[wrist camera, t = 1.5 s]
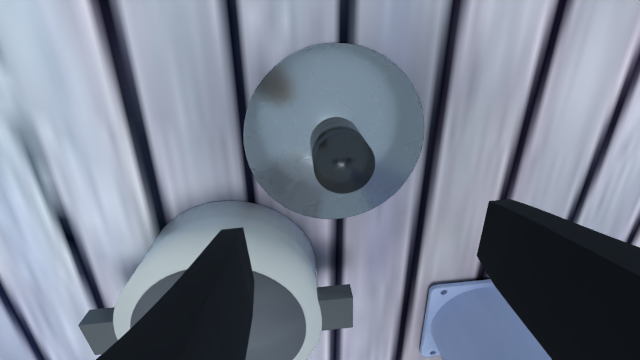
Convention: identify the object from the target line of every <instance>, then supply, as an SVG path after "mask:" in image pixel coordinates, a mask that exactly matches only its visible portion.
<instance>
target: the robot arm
mask: <svg viewBox="0 0 640 360" xmlns="http://www.w3.org/2000/svg"><path fill="white" fill-rule="evenodd" d="M477 256H478V258H479V260H480V262H481V264H482V265H483V267H484V269H485V271H486V273H487V274H488V276H489V277H490V279H488V280H478V281H468V282H458V283H448V284H438V285H433V286H432V287H431V288H430V289H429V294H428V301H427V307H426V314H425V320H424V327H423V333H422V340H421V346H420V353H421V355H422V356H423V357H431V356H439V355H441V357H442V359H443V360H640V248H639V247H637V246H634V245H631V244H628V243H626V242H623V241H620V240H618V239H615V238H612V237H609V236H607V235H604V234H602V233H599V232H596V231H594V230H591V229H589V228H586V227H584V226H581V225H578V224H576V223H573V222H571V221H568V220H566V219H563V218H561V217H558V216H555V215H553V214H550V213H548V212H545V211H543V210H540V209H537V208H534V207H532V206H529V205H526V204H523V203H520V202H517V201H514V200H510V199H506V200H496V201H489V204H488V208H487V213H486V217H485V222H484V226H483V231H482V235H481V240H480V244H479V248H478V253H477ZM254 283H255V281H254V276H253V272H252V267H251V262H250V257H249V253H248V248H247V243H246V238H245V234H244V229H243V227H241V228H232V229H222V230H221V231H220V232H219V233H218V234H217V235H216V236H215V237H214V238H213V240H212V241H211V242H210V243H209V244H208V245H207V247H206V248H205V249H204V250H203V251H202V253H201V254H200V255H199V256H198V257H197V258H196V260H195V261H194V262H193V263H192V264H191V266H190V267H189V268H188V269H187V270H186V271H185V272H184V273H183V275H182V276H181V277H180V278H179V279H178V280H177V281H176V282H175V284H174V285H173V286H172V287H171V288H170V289H169V290H168V291H167V292H166V293H165V294H164V295H163V296H162V297H161V298H160V299H159V300H158V301H157V302H156V304H155V305H154V306H153V307H152V308H151V309H150V310H149V311H148V312H147V313H146V314H145V315H144V316H143V317H142V318H141V319H140V320H139V321H138V322H137V323H136V324H135V325H134V326H133V327H132V328H131V329H129V330H128V331H127V332H126V333H125V334H124V335H123V336H122V337H121V338H120V339H119V340H118V341H116V342H115V343H114V344H113V345H112V346H111V347H110V348H109V349H108V350H106V351H105V352H104V353H103V354H102V355H101V356H100V357H99V358H98V359H96V360H245V359H246V354H247V348H248V342H249V336H250V330H251V324H252V317H253V304H254ZM442 290H443V291H442Z"/></svg>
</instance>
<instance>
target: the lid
mask: <svg viewBox="0 0 640 360" xmlns="http://www.w3.org/2000/svg"><path fill="white" fill-rule="evenodd" d="M243 138H244V148H245V153H246V158H247V161H248V164H249V166H250V169H251V171H252V173H253V175H254V177H255V178H256V180H257V181H258V183H259V184H260V186H261V187H262V188H263V189H264V190H265V191H266V192H267V194H268V195H269V196H271V197H272V198H273V199H274V200H275V201H277V202H278V203H280V204H281V205H283V206H284V207H286V208H288V209H290V210H292V211H294V212H296V213H299V214H302V215H305V216H309V217H314V218H321V219H338V218H346V217H351V216H355V215H358V214H361V213H364V212H367V211H369V210H371V209H373V208H375V207H377V206H378V205H380V204H382V203H383V202H385V201H386V200H387V199H389V198H390V197H391V196H392V195H393V194H394V193H395V192H397V191H398V190H399V189H400V188H401V186H402V185H403V184H404V183H405V181H406V180H407V179H408V177H409V176H410V174H411V172H412V171H413V169H414V167H415V165H416V163H417V161H418V158H419V155H420V152H421V149H422V143H423V138H424V117H423V111H422V107H421V103H420V100H419V97H418V95H417V92H416V90H415V89H414V87H413V85H412V83H411V82H410V80H409V79H408V78H407V76H406V75H405V73H404V72H403V71H402V70H401V69H400V68H399V67H398V66H397V65H396V64H394V63H393V62H392V61H390V60H389V59H388V58H386V57H385V56H383V55H381V54H379V53H377V52H375V51H373V50H371V49H368V48H365V47H362V46H357V45H352V44H346V43H328V44H320V45H315V46H311V47H308V48H305V49H303V50H300V51H298V52H295V53H294V54H292V55H290V56H289V57H287V58H285V59H284V60H282V61H281V62H280V63H279V64H277V65H276V66H275V67H274V68H273V69H272V70H271V71H270V72H269V73H268V74H267V75H266V76H265V77H264V79H263V80H262V82H261V83H260V84H259V86H258V87H257V89H256V91H255V92H254V94H253V96H252V98H251V100H250V103H249V106H248V109H247V112H246V116H245V121H244V131H243Z"/></svg>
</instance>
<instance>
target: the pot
mask: <svg viewBox="0 0 640 360" xmlns="http://www.w3.org/2000/svg"><path fill="white" fill-rule="evenodd" d="M241 227H243V229H244V234H245V238H246V243H247V248H248V253H249V257H250V262H251V267H252V272H253V276H254V281H255V283H254V304H253V317H252V324H251V330H250V336H249V342H248V348H247V354H246V359H245V360H307V359H308V357H309V356H310V355H311V354H312V352H313V351H314V349H315V348H316V346H317V343H318V341H319V339H320V335H321V331H322V330H332V329H341V328H350V327H353V296H352V292H351V288H350V284H347V285H337V286H327V287H318V281H317V272H316V263H315V256H314V252H313V249H312V246H311V244H310V242H309V240H308V238H307V237H306V236H305V234H304V233H303V231H302V230H301V229H300V228H299V227H298V226H297V225H296V224H295V223H293V222H292V221H291V220H290V219H288V218H287V217H285V216H284V215H282V214H281V213H279V212H277V211H275V210H272V209H270V208H268V207H265V206H262V205H259V204H255V203H250V202H243V201H217V202H210V203H206V204H202V205H198V206H196V207H193V208H191V209H188V210H186V211H185V212H183V213H181V214H179V215H178V216H176V217H175V218H174V219H172V220H171V221H170V222H169V223H168V224H167V225H166V226H165V227H164V228H163V229H162V231H161V232H160V234H159V235H158V237H157V238H156V240H155V241H154V243H153V244H152V246H151V247H150V249H149V250H148V252H147V253H146V255H145V256H144V258H143V260H142V261H141V263H140V264H139V266H138V267H137V269H136V270H135V272H134V273H133V275H132V276H131V278H130V280H129V281H128V283H127V284H126V286H125V287H124V289H123V290H122V292H121V293H120V295H119V297H118V300H117V302H116V304H115V307H114V308H104V309H94V310H89V311H88V313H87V314H86V316H85V317H84V318H83V320H82V321H81V323H80V324H79V325H78V326H79V327H80V329H81V331H82V333H83V334H84V336H85V338H86V340H87V342H88V343H89V345H90V347H91V349H92V350H93V352H94V354H95V355H99V354H103V353H104V352H105V351H106V350H108V349H109V348H110V347H111V346H112V345H113V344H114V343H115V342H116V341H118V340H119V339H120V338H121V337H122V336H123V335H124V334H125V333H126V332H127V331H128V330H129V329H131V328H132V327H133V326H134V325H135V324H136V323H137V322H138V321H139V320H140V319H141V318H142V317H143V316H144V315H145V314H146V313H147V312H148V311H149V310H150V309H151V308H152V307H153V306H154V305H155V304H156V302H157V301H158V300H159V299H160V298H161V297H162V296H163V295H164V294H165V293H166V292H167V291H168V290H169V289H170V288H171V287H172V286H173V285H174V284H175V282H176V281H177V280H178V279H179V278H180V277H181V276H182V275H183V273H184V272H185V271H186V270H187V269H188V268H189V267H190V266H191V264H192V263H193V262H194V261H195V260H196V258H197V257H198V256H199V255H200V254H201V253H202V251H203V250H204V249H205V248H206V247H207V245H208V244H209V243H210V242H211V241H212V240H213V238H214V237H215V236H216V235H217V234H218V233H219V232H220V231H221V230H222V229H232V228H241Z"/></svg>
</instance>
